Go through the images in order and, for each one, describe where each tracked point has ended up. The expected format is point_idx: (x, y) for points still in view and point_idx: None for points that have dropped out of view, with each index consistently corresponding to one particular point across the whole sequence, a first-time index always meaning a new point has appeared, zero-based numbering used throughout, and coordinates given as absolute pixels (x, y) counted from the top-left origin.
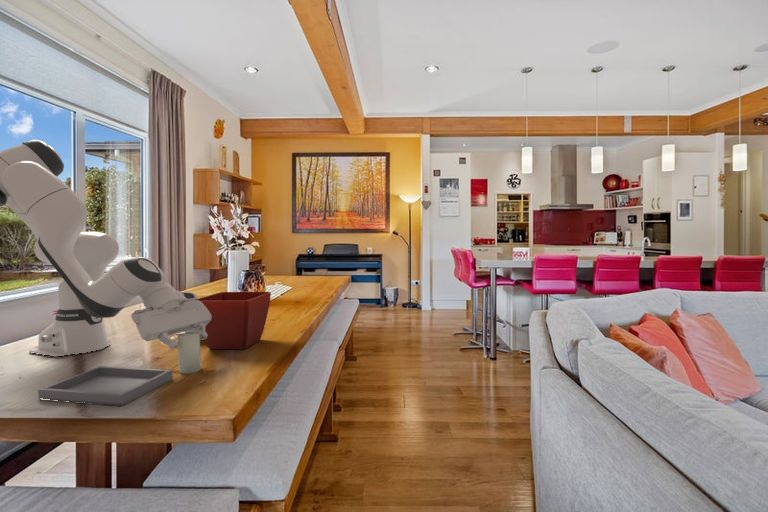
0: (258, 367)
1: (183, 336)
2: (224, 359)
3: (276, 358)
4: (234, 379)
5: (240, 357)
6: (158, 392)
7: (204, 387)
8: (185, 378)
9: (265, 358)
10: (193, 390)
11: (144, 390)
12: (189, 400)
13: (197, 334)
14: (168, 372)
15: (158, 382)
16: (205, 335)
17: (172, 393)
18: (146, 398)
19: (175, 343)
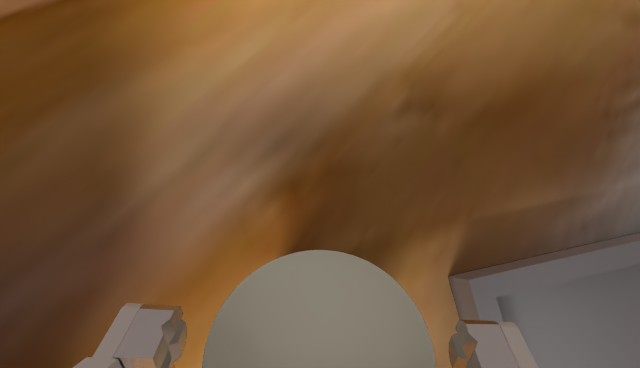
0: (179, 17)
1: (393, 364)
2: (119, 262)
3: (41, 19)
4: (335, 16)
5: (66, 200)
6: (573, 199)
7: (449, 65)
8: (412, 226)
9: (53, 67)
10: (490, 81)
11: (630, 237)
12: (558, 24)
13: (274, 277)
14: (493, 274)
15: (550, 255)
16: (149, 307)
17: (550, 135)
18: (633, 191)
19: (495, 331)
